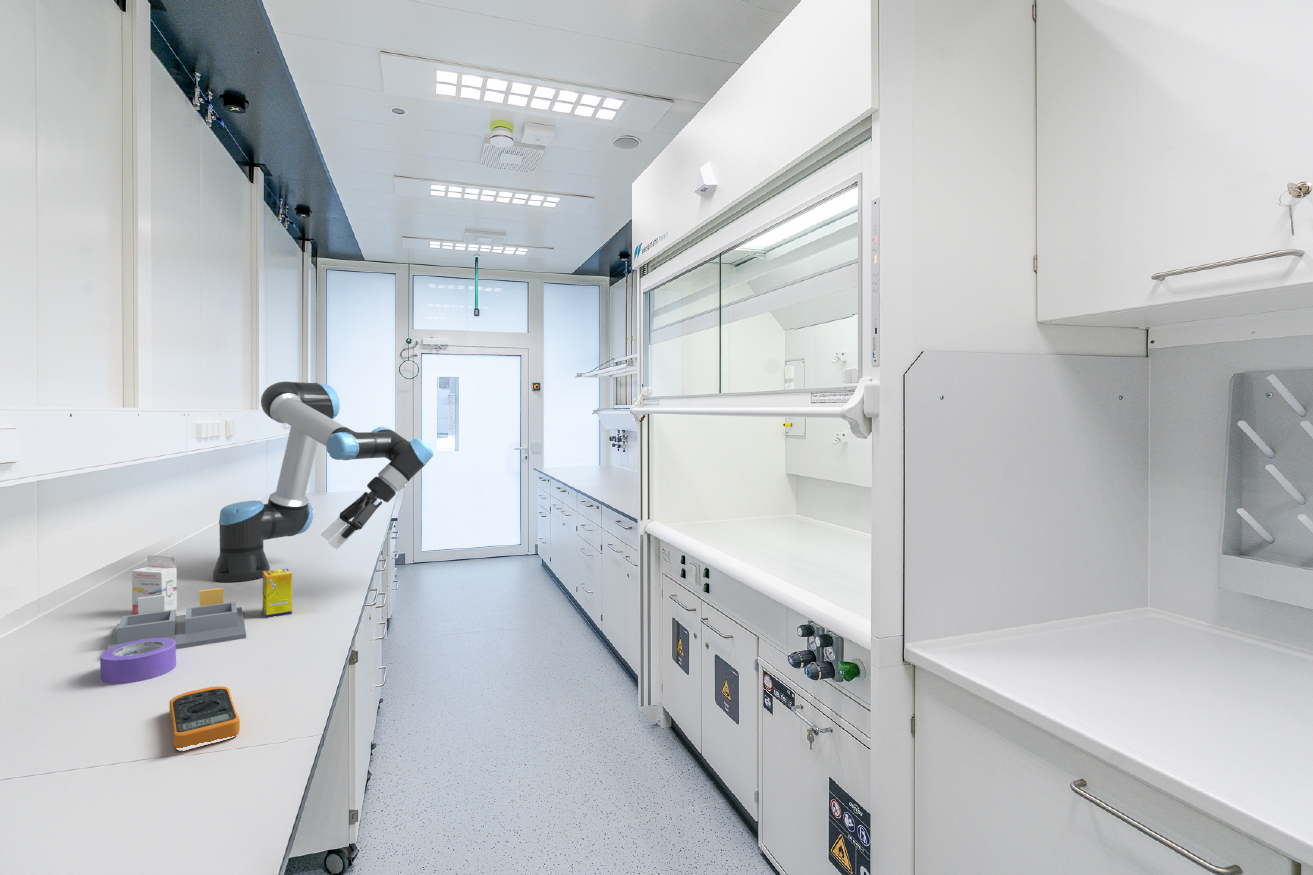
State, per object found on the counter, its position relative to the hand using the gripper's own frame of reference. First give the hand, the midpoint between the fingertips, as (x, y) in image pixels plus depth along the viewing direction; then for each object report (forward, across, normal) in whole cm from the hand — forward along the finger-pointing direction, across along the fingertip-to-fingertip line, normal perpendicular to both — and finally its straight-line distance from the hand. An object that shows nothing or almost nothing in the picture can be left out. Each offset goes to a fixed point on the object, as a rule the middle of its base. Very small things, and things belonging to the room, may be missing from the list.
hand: (328, 542), depth 171 cm
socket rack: (+35, -4, +10) cm, 37 cm away
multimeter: (+33, -60, +6) cm, 69 cm away
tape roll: (+40, -27, +14) cm, 50 cm away
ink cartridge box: (+39, +17, +14) cm, 45 cm away
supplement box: (+21, +1, -4) cm, 21 cm away
